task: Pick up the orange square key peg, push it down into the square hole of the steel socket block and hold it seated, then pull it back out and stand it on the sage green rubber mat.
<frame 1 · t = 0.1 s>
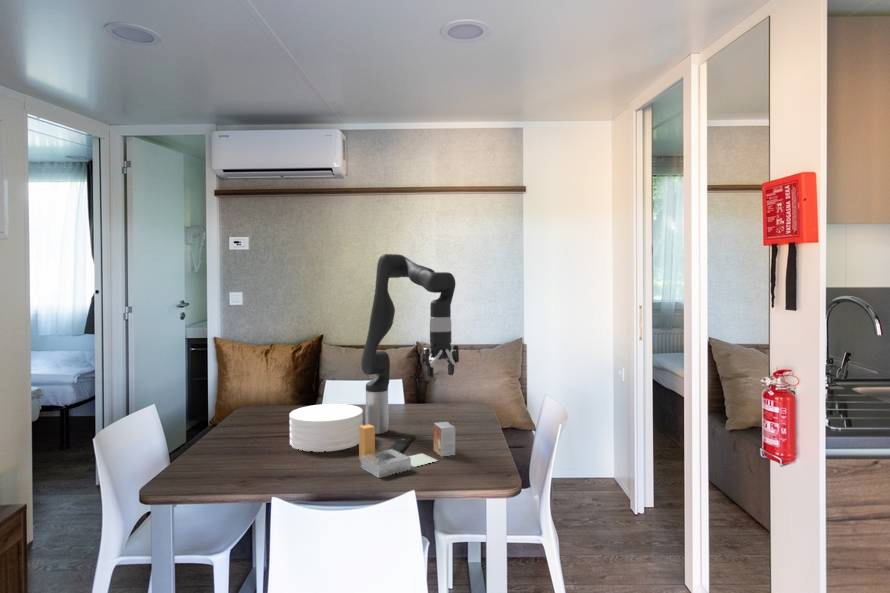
hand: (440, 376, 188), 29 cm above the table, tool pointing down, fingers open, 8 cm apart
socket block: (385, 468, 180), on the table
small box: (444, 454, 196), on the table
mat: (418, 460, 188), on the table
plate stack: (326, 441, 212), on the table
key peg: (367, 460, 188), on the table
remote control: (400, 448, 205), on the table
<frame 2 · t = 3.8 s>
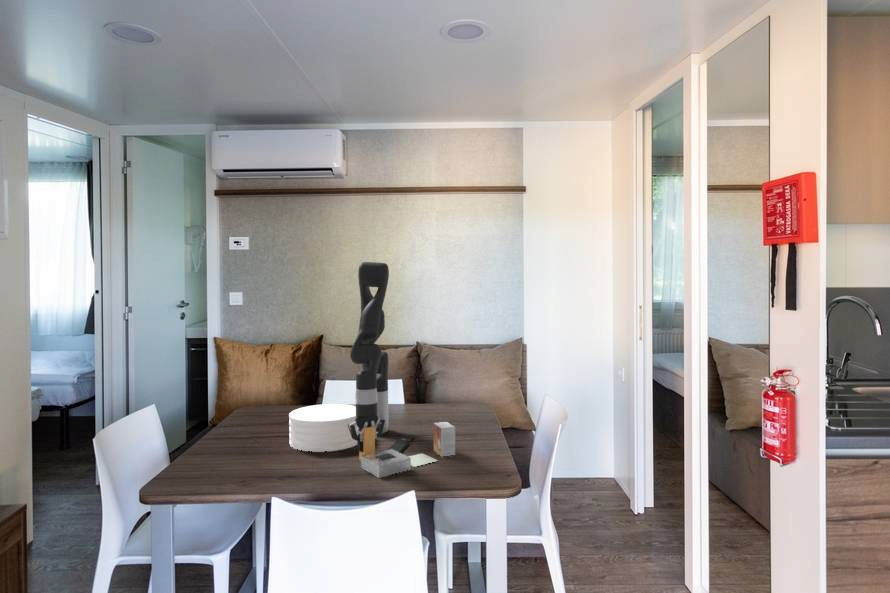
hand: (366, 449, 188), 4 cm above the table, tool pointing down, fingers closed on key peg, 4 cm apart
key peg: (367, 460, 188), on the table, touching gripper
everything else where it was.
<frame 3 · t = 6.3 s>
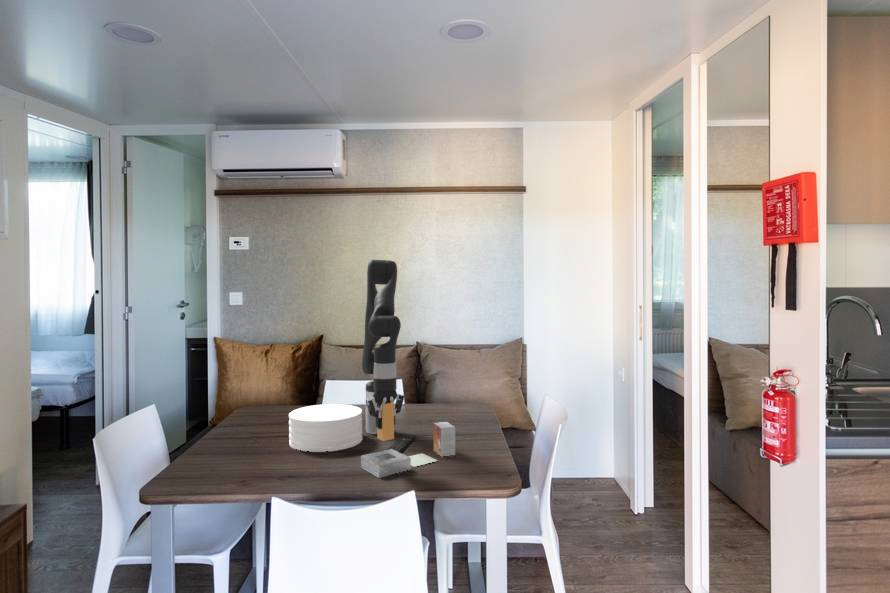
hand: (385, 427, 179), 14 cm above the table, tool pointing down, fingers closed on key peg, 4 cm apart
key peg: (385, 438, 180), point 10 cm above the table, touching gripper
everything else where it was.
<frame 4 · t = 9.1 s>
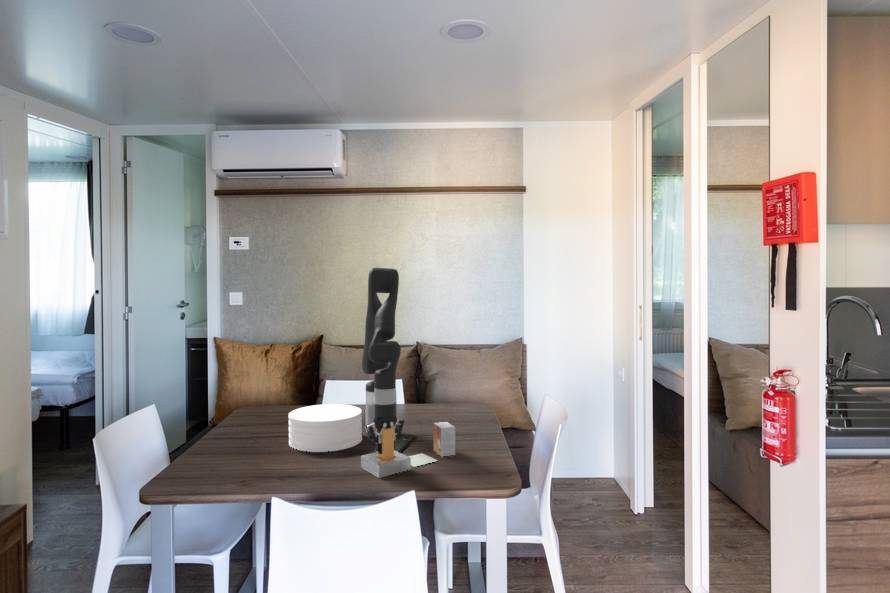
hand: (385, 452, 180), 6 cm above the table, tool pointing down, fingers closed on key peg, 4 cm apart
key peg: (385, 463, 180), point 2 cm above the table, touching gripper
everything else where it was.
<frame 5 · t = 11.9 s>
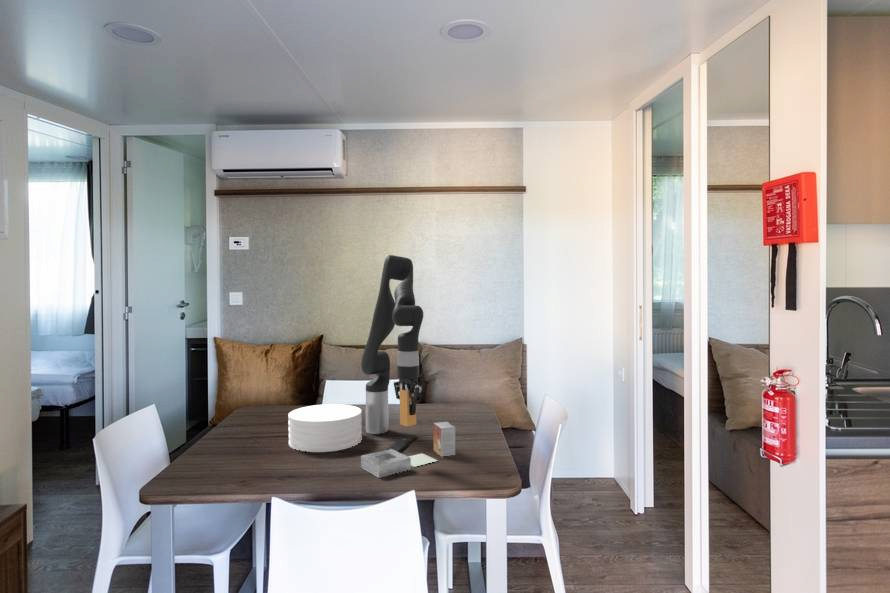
hand: (408, 413, 185), 17 cm above the table, tool pointing down, fingers closed on key peg, 4 cm apart
key peg: (408, 424, 186), point 13 cm above the table, touching gripper
everything else where it was.
when the fingers open (6 cm above the table, at t = 14.6 s): key peg drops 2 cm, resting on mat.
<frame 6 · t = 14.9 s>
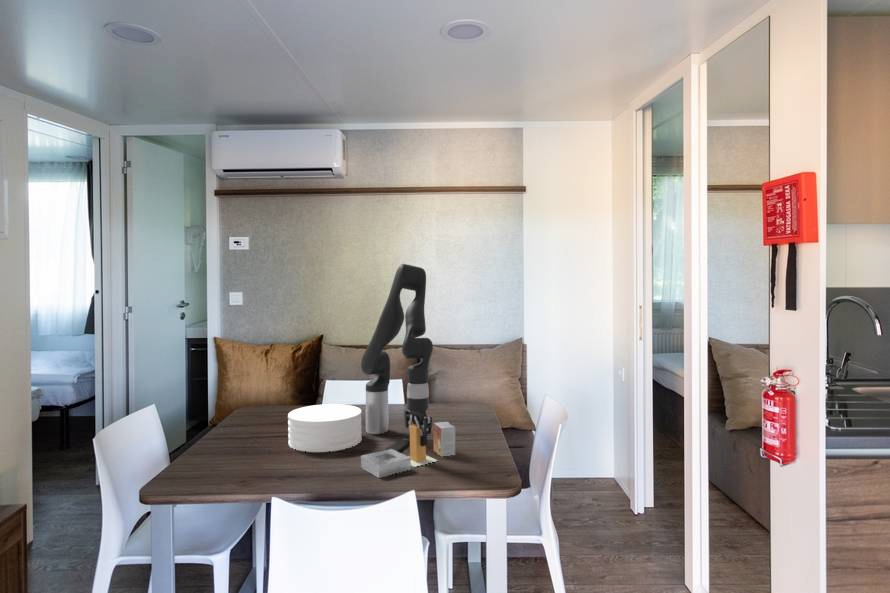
hand: (418, 443, 187), 6 cm above the table, tool pointing down, fingers open, 6 cm apart
key peg: (418, 459, 188), resting on mat
everything else where it was.
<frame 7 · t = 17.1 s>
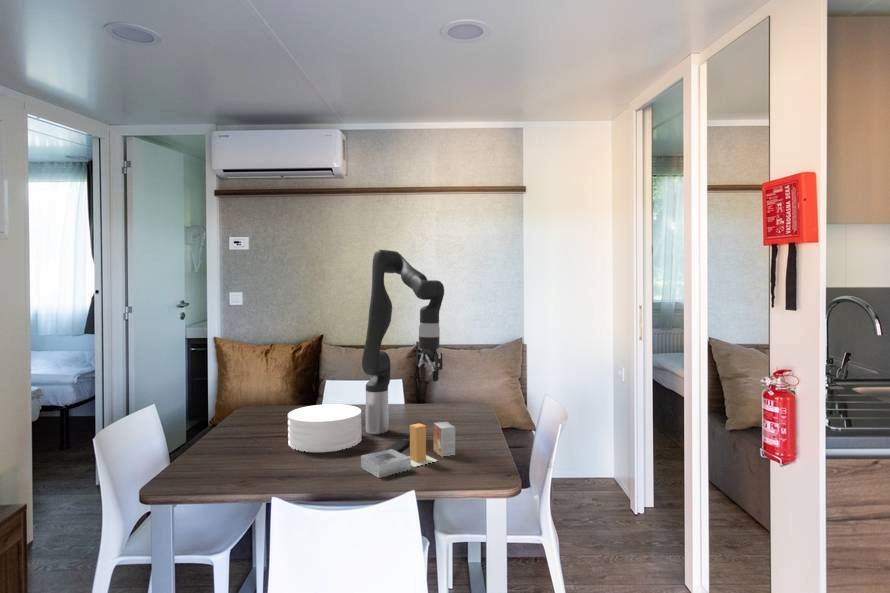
hand: (428, 379, 198), 26 cm above the table, tool pointing down, fingers open, 8 cm apart
nothing on the table moved.
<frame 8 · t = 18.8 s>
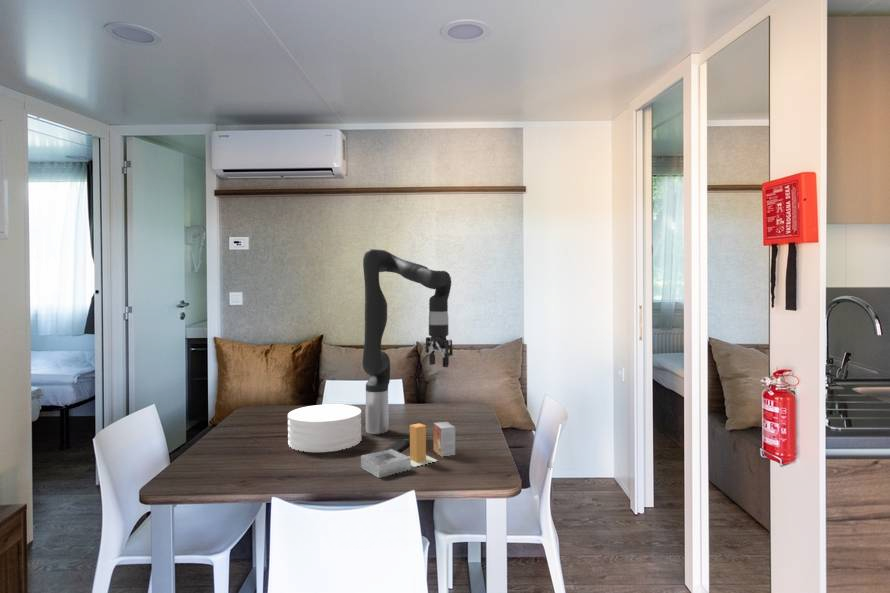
hand: (438, 365, 206), 30 cm above the table, tool pointing down, fingers open, 8 cm apart
at the end: key peg inside the target area on the mat (0.1 cm from its centre), point 0.4 cm above the mat's base; key peg tilted 0°; the gripper is holding nothing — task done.
